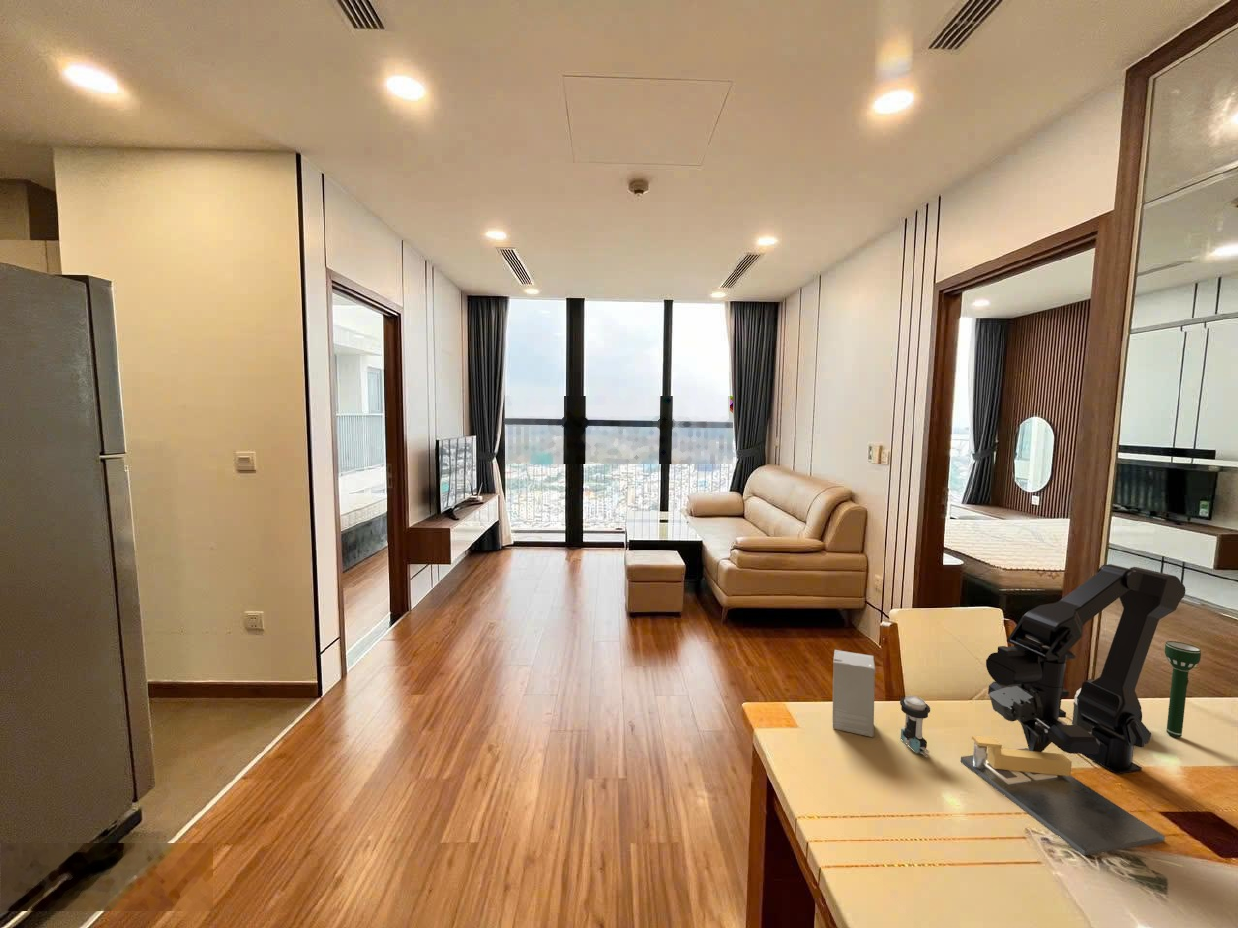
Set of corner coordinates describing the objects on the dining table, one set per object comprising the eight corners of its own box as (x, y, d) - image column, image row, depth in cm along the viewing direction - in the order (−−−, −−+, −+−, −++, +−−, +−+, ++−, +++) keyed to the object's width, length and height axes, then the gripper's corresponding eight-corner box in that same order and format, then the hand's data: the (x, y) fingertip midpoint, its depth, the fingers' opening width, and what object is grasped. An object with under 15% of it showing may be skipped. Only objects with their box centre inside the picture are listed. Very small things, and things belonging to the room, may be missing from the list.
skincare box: (872, 722, 110) (876, 654, 109) (873, 741, 104) (877, 668, 103) (831, 712, 114) (834, 646, 113) (829, 729, 107) (833, 659, 106)
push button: (939, 758, 99) (942, 710, 98) (915, 760, 98) (918, 712, 97) (914, 737, 105) (917, 692, 104) (891, 739, 104) (894, 694, 104)
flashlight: (1191, 745, 104) (1201, 653, 102) (1155, 733, 108) (1164, 644, 106) (1192, 736, 107) (1202, 646, 106) (1157, 724, 111) (1166, 638, 109)
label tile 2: (1000, 759, 97) (1000, 757, 97) (1030, 780, 91) (1031, 778, 91) (978, 762, 96) (978, 760, 96) (1008, 784, 90) (1008, 782, 90)
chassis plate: (1027, 752, 101) (1027, 747, 101) (1164, 841, 79) (1164, 835, 79) (960, 761, 98) (961, 756, 98) (1084, 856, 76) (1084, 850, 76)
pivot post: (978, 767, 96) (980, 741, 96) (987, 774, 94) (989, 747, 94) (969, 768, 96) (971, 742, 95) (978, 775, 94) (980, 748, 93)
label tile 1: (1025, 755, 98) (1025, 754, 98) (1057, 777, 92) (1057, 775, 92) (1004, 758, 97) (1004, 756, 97) (1035, 780, 91) (1035, 778, 91)
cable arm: (976, 766, 94) (978, 742, 94) (970, 759, 96) (972, 735, 96) (1070, 776, 92) (1072, 751, 91) (1061, 767, 94) (1063, 743, 94)
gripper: (966, 654, 103) (959, 724, 105) (1043, 707, 84) (1032, 792, 86) (1019, 655, 103) (1011, 725, 105) (1107, 709, 84) (1096, 793, 86)
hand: (1033, 755), depth 95 cm, fingers closed
